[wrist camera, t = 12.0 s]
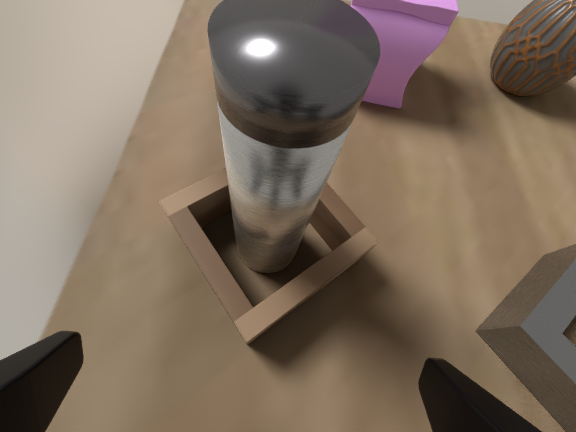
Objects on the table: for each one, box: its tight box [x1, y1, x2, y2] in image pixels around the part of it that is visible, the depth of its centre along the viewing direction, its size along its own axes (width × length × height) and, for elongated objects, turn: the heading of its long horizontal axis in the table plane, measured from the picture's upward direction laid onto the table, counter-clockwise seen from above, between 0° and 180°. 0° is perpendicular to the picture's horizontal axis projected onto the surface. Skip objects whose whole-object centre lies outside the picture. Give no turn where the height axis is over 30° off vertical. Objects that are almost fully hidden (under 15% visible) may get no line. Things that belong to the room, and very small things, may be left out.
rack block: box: [159, 168, 378, 345], centre depth 16 cm, size 8×8×3 cm
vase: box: [490, 0, 576, 96], centre depth 23 cm, size 7×7×9 cm
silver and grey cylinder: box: [208, 0, 380, 273], centre depth 12 cm, size 4×4×12 cm
